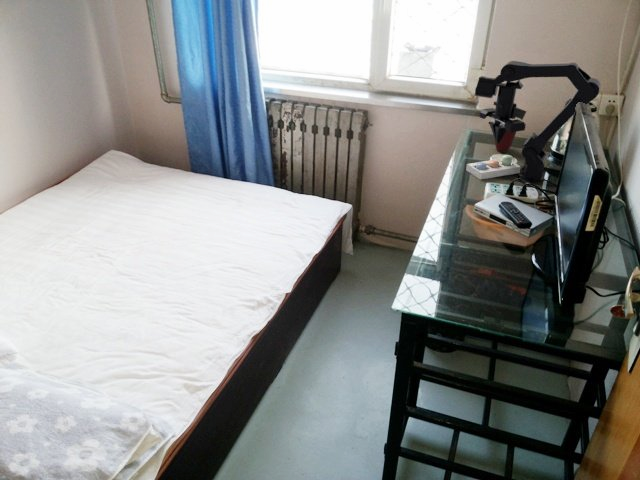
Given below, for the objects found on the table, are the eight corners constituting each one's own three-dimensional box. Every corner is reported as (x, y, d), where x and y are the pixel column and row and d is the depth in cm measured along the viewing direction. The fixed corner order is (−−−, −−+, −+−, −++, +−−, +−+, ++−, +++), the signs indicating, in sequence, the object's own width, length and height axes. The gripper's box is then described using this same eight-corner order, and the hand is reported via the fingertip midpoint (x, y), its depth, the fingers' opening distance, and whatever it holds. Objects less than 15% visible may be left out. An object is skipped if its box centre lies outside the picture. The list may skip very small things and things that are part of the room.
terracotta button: (499, 170, 191) (501, 163, 189) (491, 172, 190) (493, 164, 188) (494, 167, 194) (495, 159, 192) (485, 168, 193) (487, 161, 191)
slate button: (487, 172, 189) (488, 165, 188) (478, 174, 188) (480, 166, 187) (481, 169, 192) (482, 161, 191) (473, 170, 191) (474, 163, 190)
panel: (519, 172, 191) (520, 166, 190) (480, 179, 186) (481, 173, 185) (504, 164, 198) (505, 158, 197) (466, 170, 193) (467, 163, 192)
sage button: (513, 165, 192) (514, 157, 190) (504, 166, 191) (506, 158, 189) (507, 161, 195) (508, 154, 193) (498, 163, 194) (500, 155, 192)
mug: (492, 144, 217) (496, 120, 212) (512, 146, 215) (517, 122, 210) (491, 152, 209) (495, 128, 204) (512, 155, 206) (516, 130, 201)
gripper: (543, 104, 174) (533, 148, 182) (507, 91, 189) (500, 132, 197) (515, 108, 171) (506, 152, 179) (481, 93, 186) (475, 135, 194)
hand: (497, 142), depth 187 cm, fingers closed
